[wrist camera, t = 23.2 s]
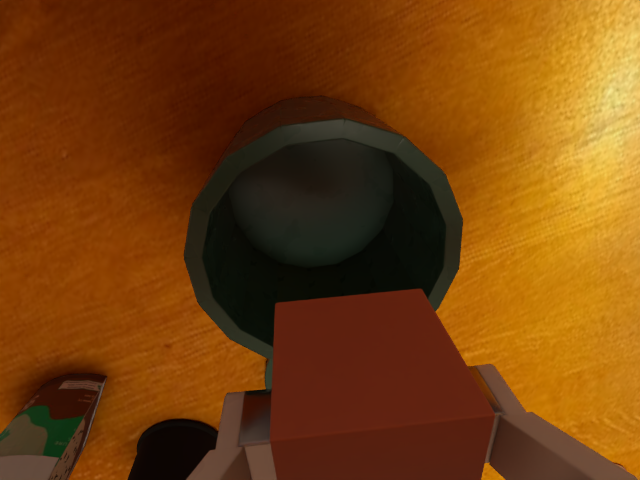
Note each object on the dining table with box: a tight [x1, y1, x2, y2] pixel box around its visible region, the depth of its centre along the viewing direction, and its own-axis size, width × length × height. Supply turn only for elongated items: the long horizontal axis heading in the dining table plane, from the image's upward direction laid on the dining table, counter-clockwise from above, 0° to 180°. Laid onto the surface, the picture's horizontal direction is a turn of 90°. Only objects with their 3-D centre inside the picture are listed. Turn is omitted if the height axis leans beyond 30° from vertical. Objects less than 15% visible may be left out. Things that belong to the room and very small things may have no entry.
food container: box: [0, 374, 107, 480], centre depth 27 cm, size 12×6×10 cm, turn 154°
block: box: [270, 289, 495, 480], centre depth 10 cm, size 4×4×4 cm
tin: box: [184, 96, 463, 360], centre depth 21 cm, size 13×13×10 cm
